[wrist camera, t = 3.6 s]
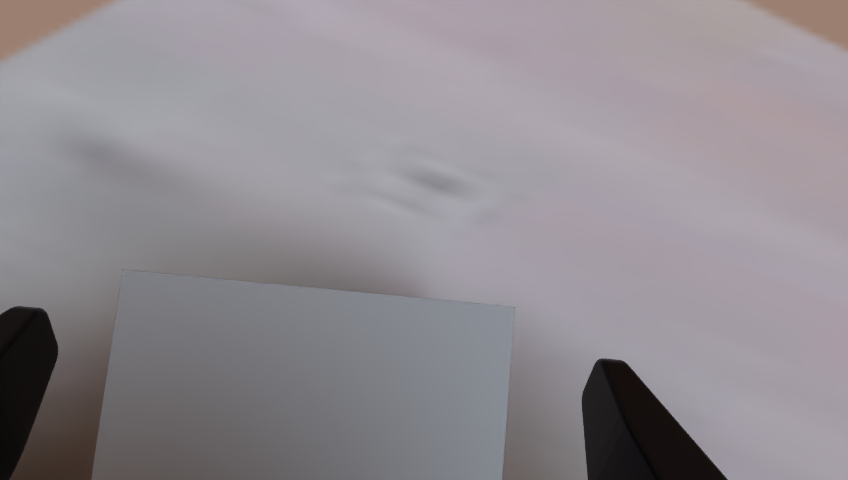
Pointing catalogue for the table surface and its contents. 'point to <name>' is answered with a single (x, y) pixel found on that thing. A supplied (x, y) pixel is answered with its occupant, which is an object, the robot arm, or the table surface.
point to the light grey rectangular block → (300, 384)
